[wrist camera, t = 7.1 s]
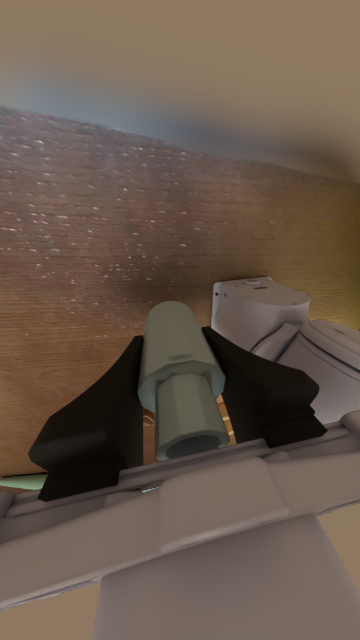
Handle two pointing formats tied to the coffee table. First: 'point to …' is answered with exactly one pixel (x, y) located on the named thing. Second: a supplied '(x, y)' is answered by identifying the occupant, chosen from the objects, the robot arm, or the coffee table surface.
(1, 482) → the mint green cone
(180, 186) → the coffee table surface
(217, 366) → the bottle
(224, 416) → the holder
